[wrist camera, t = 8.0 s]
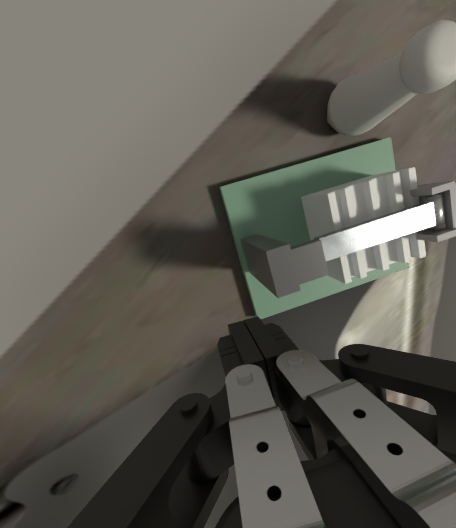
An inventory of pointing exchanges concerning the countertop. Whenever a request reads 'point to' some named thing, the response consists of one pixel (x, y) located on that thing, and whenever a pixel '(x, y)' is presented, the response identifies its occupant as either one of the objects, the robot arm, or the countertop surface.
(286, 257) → the block
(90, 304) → the countertop surface
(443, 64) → the salt shaker
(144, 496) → the robot arm
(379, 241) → the strap
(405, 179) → the heatsink base
